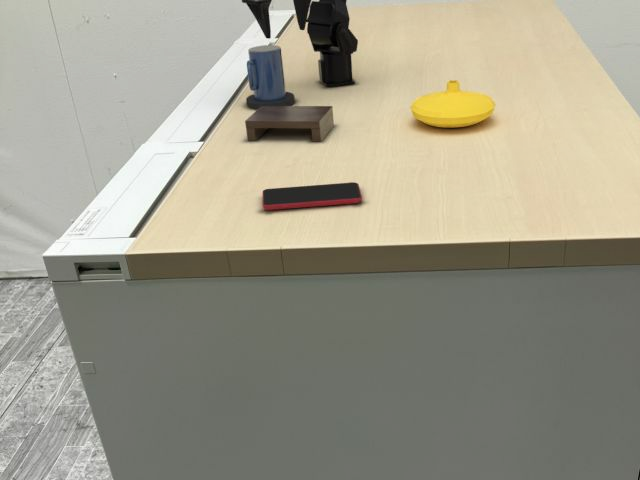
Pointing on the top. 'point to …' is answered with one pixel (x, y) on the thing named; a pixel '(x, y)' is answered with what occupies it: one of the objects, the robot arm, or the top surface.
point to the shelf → (291, 120)
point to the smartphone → (311, 196)
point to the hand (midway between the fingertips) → (285, 34)
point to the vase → (452, 107)
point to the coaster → (282, 102)
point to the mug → (266, 73)
